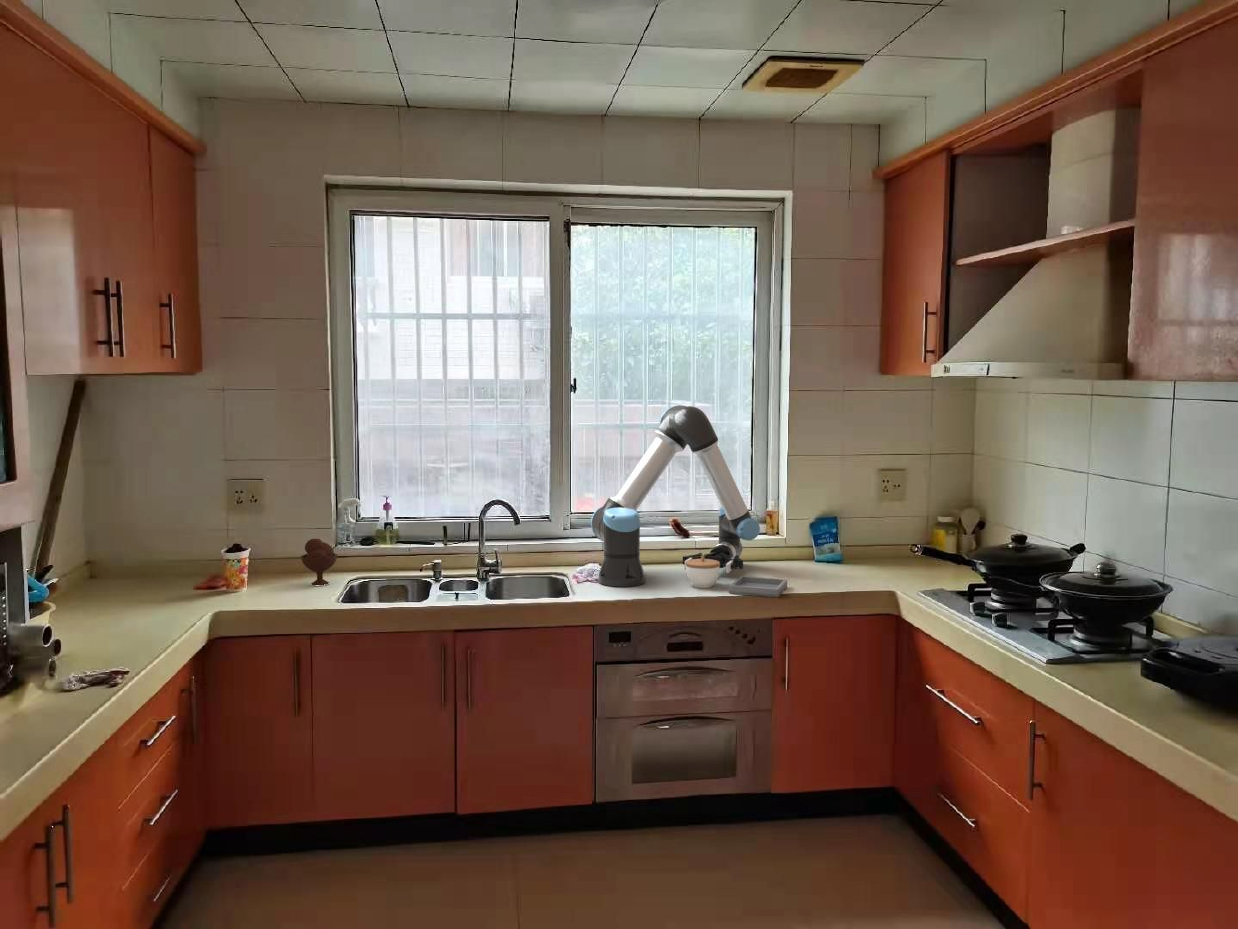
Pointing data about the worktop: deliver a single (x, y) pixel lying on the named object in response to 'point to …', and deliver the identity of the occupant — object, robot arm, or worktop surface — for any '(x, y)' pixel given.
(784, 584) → the tray
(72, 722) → the worktop surface
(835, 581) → the worktop surface
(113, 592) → the worktop surface
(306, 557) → the ice cream bowl
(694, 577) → the lidded jar
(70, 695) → the worktop surface
